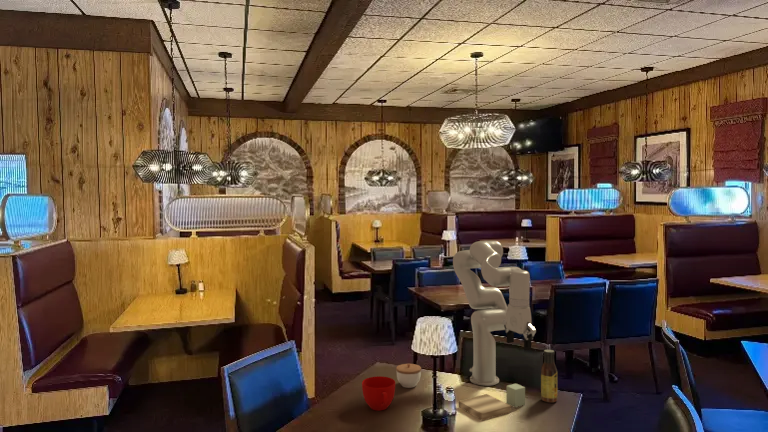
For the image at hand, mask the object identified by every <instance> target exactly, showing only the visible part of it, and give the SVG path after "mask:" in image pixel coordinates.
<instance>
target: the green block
mask: <svg viewBox="0 0 768 432" xmlns="http://www.w3.org/2000/svg"><path fill="white" fill-rule="evenodd" d="M505 399H506V402H505V403H506V404H507V403H508V405H509V404H510V406H511V405H512V406H511V407H513V406H514V407H513V408H515V407H516V408H519V407H522V405H523V406H526V387H525V386H522V385H521V384H518V383H513V384H508V385H506V398H505ZM518 406H519V407H518Z"/></svg>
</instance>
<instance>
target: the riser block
mask: <svg viewBox="0 0 768 432" xmlns="http://www.w3.org/2000/svg"><path fill="white" fill-rule="evenodd" d="M458 408H459V409H461V410H462V411H464V412H466V413H468V414H470V415H471V416H473V417H475V418H477V419H479V420H480V421H485V420H488V419H492V418H495V417H500V416H502V415H506V414H510V413H512V406H511V405H509V404H507V403H506V402H504V401H502V400H500V399H498V398H497V397H494V396H492V395H489V394H488V393H485V394H480V395H477V396H473V397H469V398H465V399H462V400H458Z"/></svg>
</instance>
